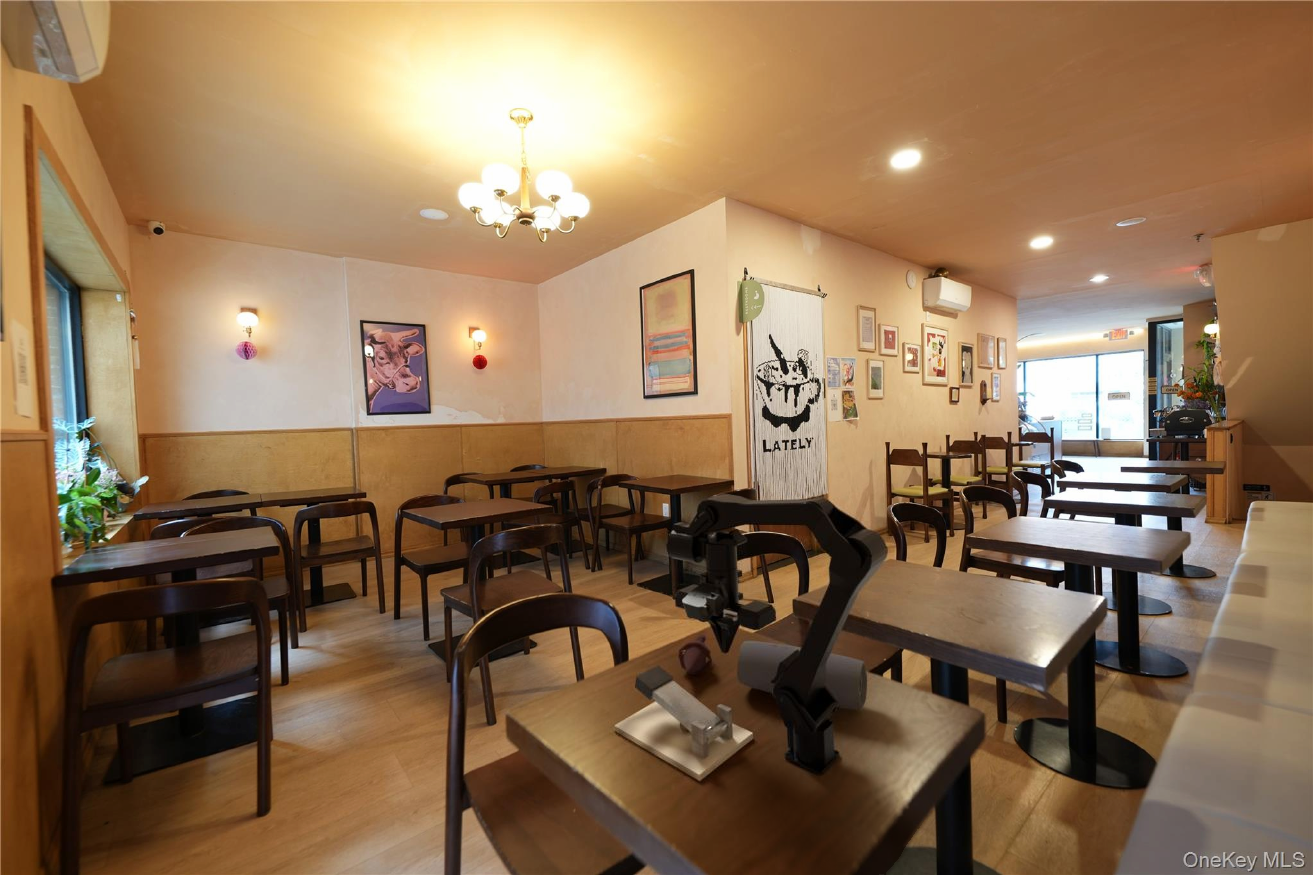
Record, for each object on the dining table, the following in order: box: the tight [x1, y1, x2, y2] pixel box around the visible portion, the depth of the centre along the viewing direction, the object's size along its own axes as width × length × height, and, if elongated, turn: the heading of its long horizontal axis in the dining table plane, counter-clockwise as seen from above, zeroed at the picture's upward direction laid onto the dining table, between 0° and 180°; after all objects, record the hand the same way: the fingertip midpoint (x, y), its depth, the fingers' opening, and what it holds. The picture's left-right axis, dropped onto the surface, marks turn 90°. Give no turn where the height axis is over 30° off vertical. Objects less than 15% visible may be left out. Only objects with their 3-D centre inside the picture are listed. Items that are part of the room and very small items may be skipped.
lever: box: [634, 665, 727, 745], centre depth 95 cm, size 17×6×2 cm, turn 45°
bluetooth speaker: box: [736, 640, 868, 711], centre depth 104 cm, size 23×9×10 cm, turn 60°
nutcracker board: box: [613, 700, 754, 782], centre depth 95 cm, size 20×14×6 cm
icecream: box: [677, 634, 713, 675], centre depth 117 cm, size 7×7×15 cm
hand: (725, 652), depth 97 cm, fingers closed
